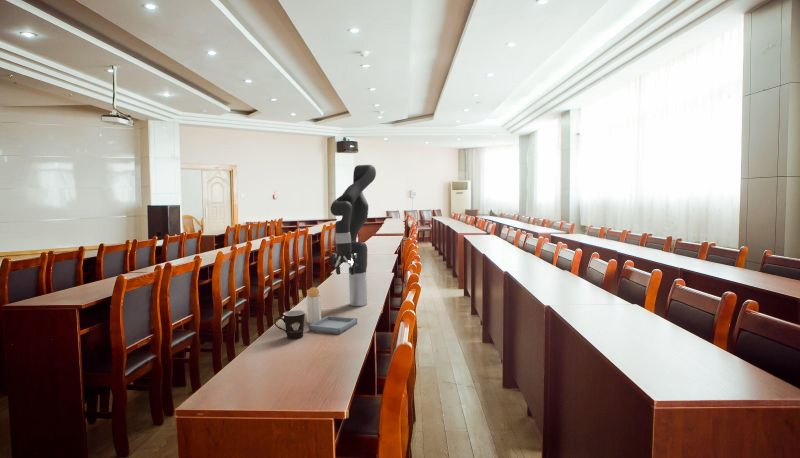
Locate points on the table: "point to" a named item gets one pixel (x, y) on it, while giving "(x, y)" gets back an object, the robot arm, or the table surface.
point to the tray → (333, 324)
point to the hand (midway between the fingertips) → (345, 274)
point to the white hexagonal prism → (313, 309)
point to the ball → (313, 292)
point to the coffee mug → (293, 324)
